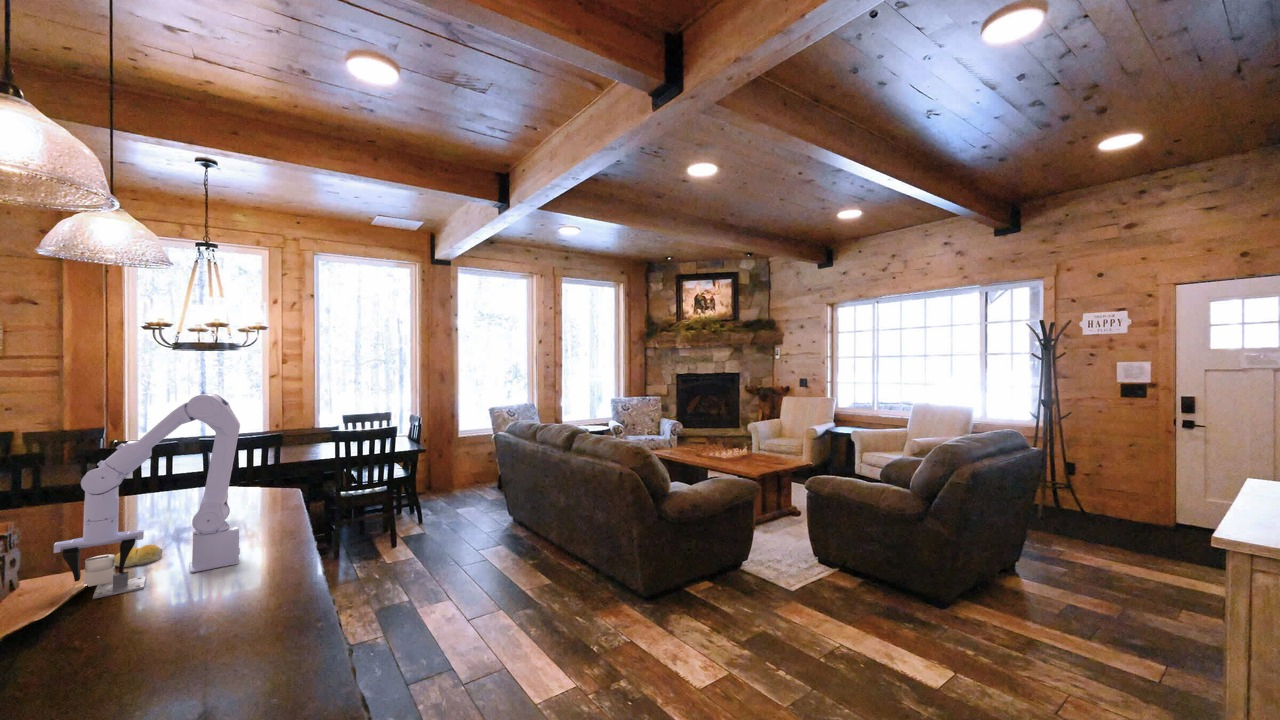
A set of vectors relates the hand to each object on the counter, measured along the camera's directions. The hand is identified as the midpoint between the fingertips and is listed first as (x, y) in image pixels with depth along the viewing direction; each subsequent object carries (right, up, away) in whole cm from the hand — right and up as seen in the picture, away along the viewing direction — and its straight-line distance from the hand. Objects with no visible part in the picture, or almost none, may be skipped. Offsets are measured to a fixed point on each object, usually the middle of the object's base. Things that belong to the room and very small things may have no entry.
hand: (99, 576), depth 121 cm
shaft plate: (+8, -1, -3) cm, 9 cm away
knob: (0, -1, 0) cm, 1 cm away
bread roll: (-4, -2, +13) cm, 14 cm away
